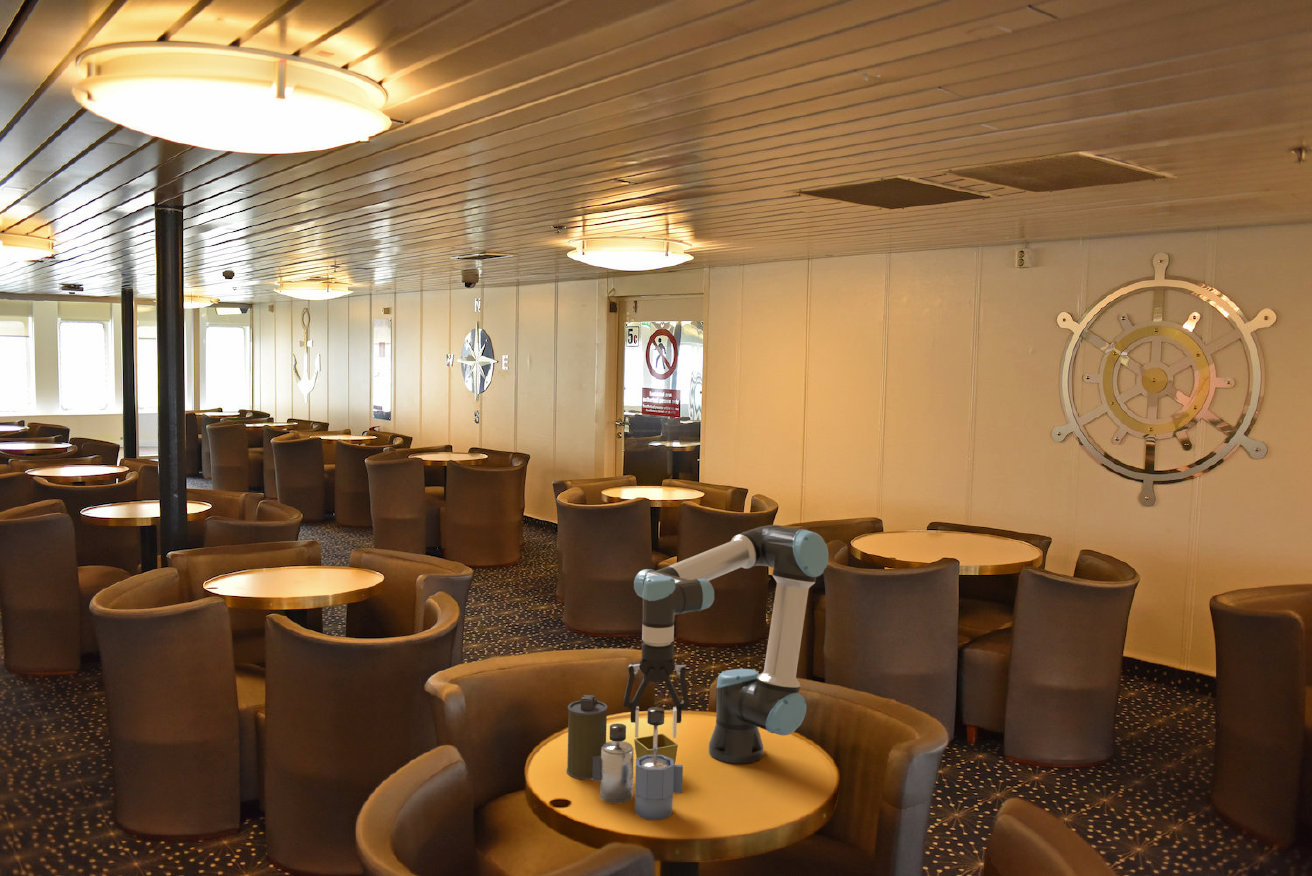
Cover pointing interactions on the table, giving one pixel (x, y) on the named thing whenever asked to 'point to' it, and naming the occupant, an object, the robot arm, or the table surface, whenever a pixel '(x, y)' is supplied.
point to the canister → (585, 735)
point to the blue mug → (656, 788)
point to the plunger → (655, 738)
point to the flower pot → (663, 746)
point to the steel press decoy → (615, 767)
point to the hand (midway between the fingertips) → (655, 735)
